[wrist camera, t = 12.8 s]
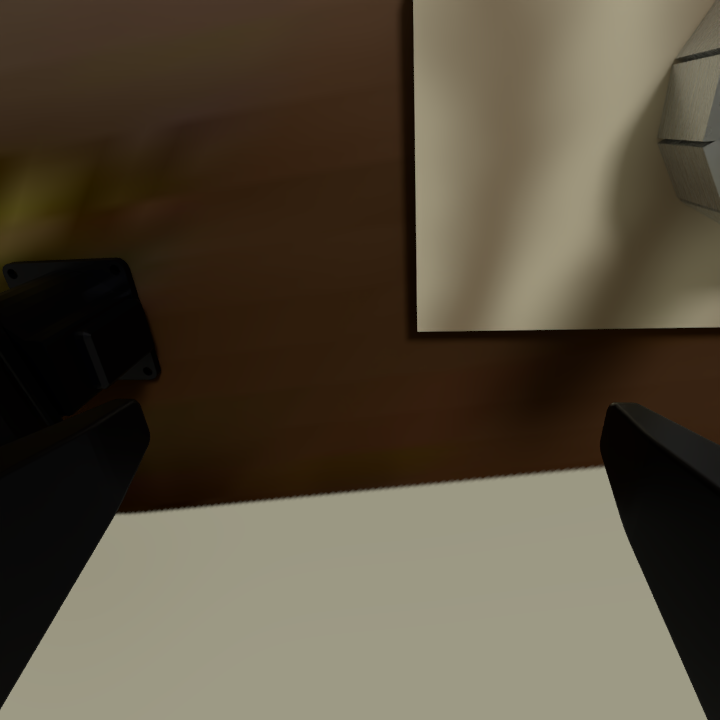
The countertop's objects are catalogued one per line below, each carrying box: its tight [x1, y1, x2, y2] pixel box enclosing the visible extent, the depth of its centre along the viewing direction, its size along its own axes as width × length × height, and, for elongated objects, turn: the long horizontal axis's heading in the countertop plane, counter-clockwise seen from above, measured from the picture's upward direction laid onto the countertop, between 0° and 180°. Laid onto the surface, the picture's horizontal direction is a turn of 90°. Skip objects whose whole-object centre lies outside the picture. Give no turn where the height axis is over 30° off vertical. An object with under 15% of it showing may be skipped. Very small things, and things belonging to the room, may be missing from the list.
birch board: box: [413, 0, 720, 332], centre depth 17 cm, size 18×13×1 cm
